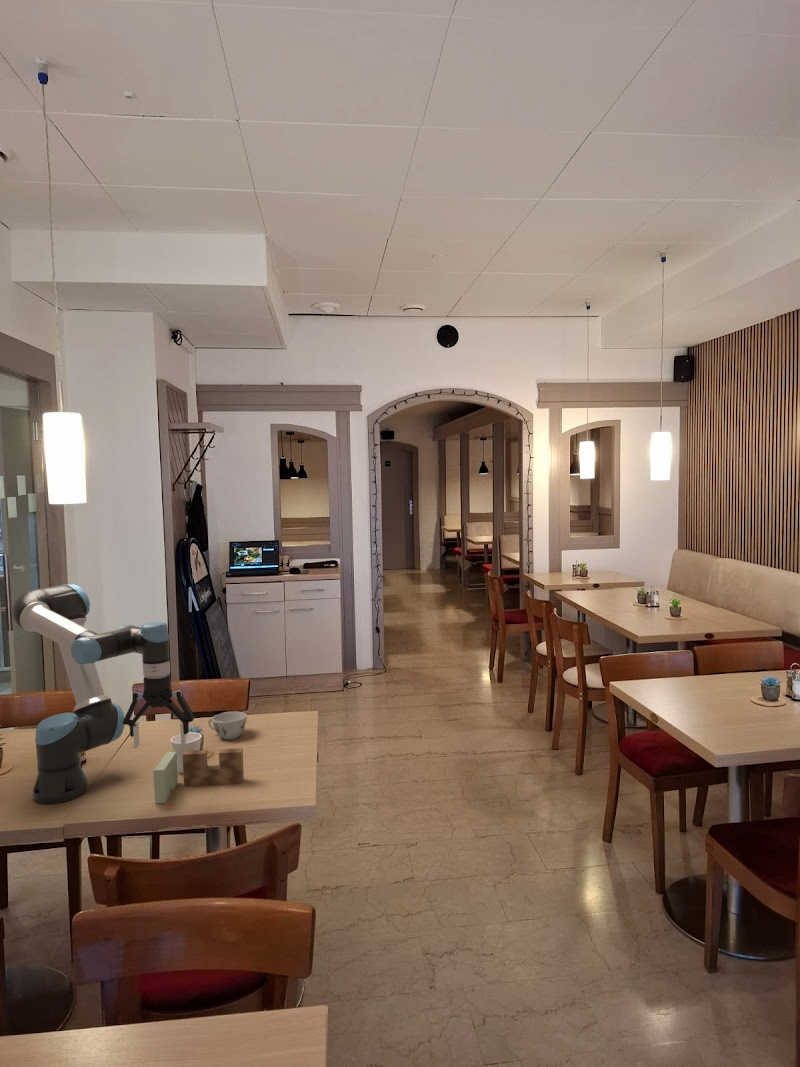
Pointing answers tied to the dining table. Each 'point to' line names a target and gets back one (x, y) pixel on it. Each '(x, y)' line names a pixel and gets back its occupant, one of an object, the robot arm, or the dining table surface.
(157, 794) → the green board
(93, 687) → the robot arm
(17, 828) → the dining table surface
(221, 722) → the teacup
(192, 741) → the cup
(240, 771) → the walnut board
